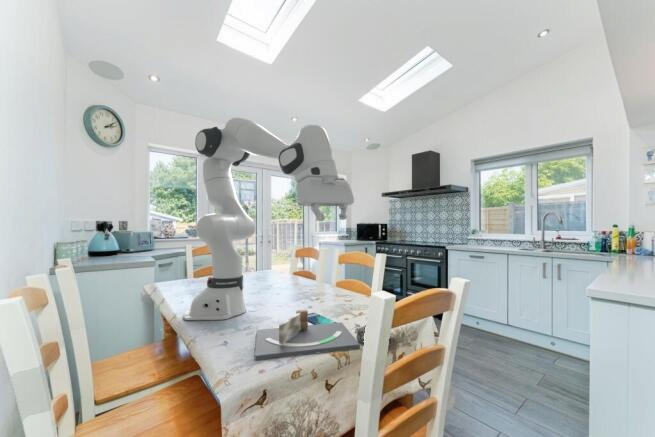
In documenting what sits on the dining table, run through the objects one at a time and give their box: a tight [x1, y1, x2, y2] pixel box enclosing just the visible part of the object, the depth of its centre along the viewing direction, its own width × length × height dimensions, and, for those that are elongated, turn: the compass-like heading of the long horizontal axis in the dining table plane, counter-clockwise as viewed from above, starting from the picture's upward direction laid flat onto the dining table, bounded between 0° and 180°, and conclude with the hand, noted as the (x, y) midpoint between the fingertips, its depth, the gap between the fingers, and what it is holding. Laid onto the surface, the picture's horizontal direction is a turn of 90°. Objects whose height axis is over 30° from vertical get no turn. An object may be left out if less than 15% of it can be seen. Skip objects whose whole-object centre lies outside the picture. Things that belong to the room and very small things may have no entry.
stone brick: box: [278, 309, 309, 344], centre depth 82 cm, size 15×4×5 cm, turn 158°
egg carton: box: [353, 324, 367, 344], centre depth 82 cm, size 11×8×4 cm
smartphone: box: [308, 312, 338, 325], centre depth 99 cm, size 7×1×15 cm
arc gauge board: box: [254, 322, 361, 361], centre depth 82 cm, size 28×18×1 cm, turn 103°
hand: (332, 219), depth 80 cm, fingers open, 8 cm apart
